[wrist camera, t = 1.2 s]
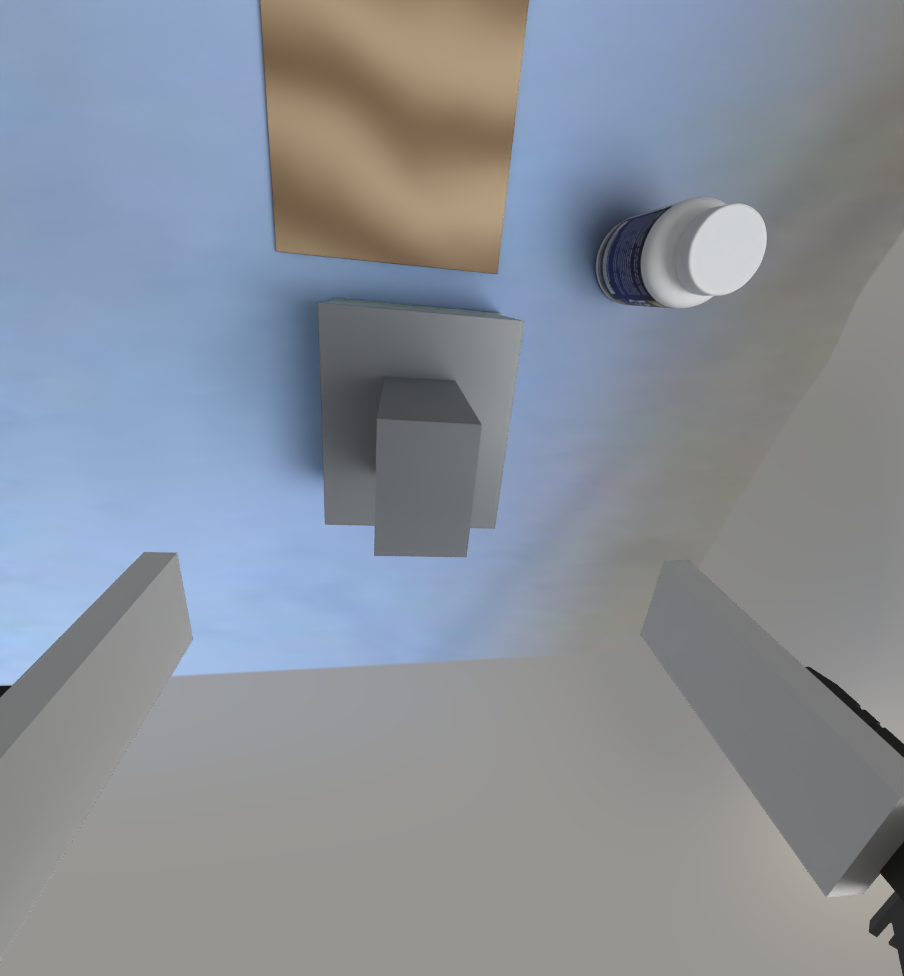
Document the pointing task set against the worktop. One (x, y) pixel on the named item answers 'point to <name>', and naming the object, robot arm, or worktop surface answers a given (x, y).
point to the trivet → (392, 127)
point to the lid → (415, 423)
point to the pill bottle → (681, 253)
